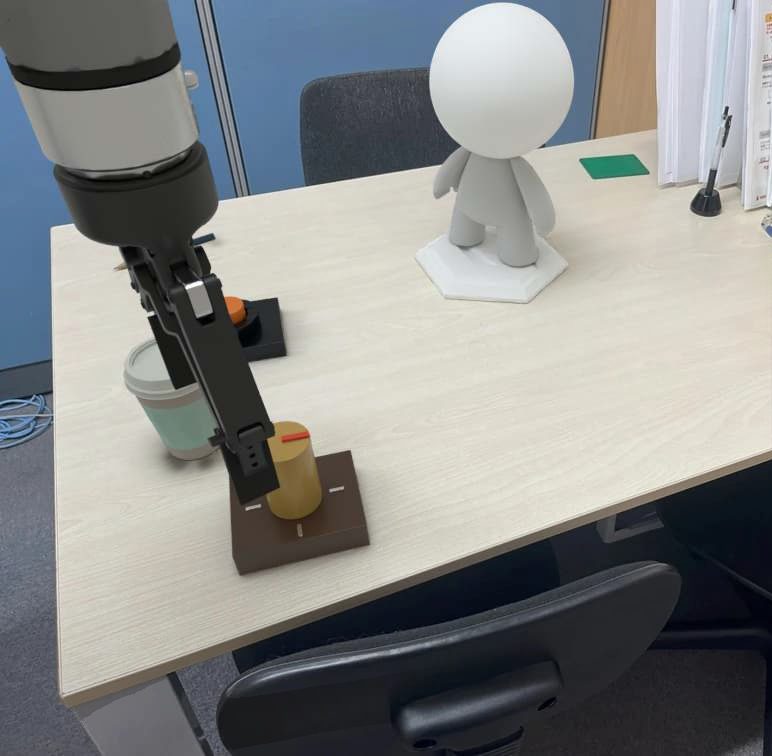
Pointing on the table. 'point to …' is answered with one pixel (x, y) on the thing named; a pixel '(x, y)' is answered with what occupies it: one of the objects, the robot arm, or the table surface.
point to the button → (235, 309)
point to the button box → (261, 330)
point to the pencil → (196, 242)
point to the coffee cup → (169, 403)
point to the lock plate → (301, 522)
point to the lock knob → (294, 472)
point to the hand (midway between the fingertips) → (222, 433)
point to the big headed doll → (497, 152)
